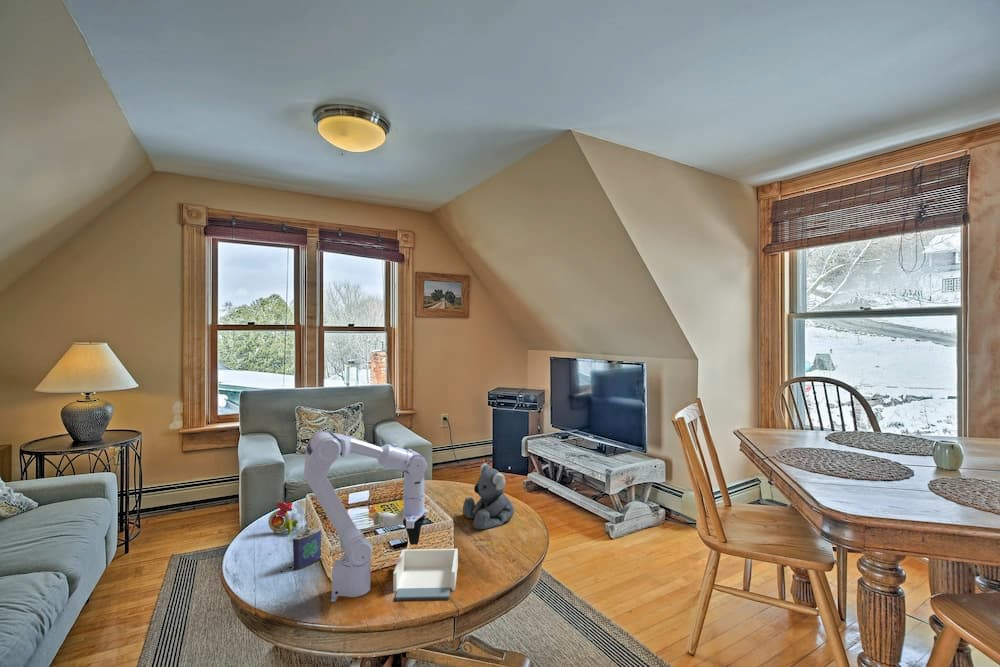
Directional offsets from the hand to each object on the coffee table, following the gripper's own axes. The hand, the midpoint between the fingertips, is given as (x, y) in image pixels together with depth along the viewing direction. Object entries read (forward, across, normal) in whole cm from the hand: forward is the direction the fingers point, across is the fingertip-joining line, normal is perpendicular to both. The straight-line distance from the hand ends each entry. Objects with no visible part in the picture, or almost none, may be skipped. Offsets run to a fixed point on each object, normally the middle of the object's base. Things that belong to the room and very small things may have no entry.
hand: (414, 543), depth 132 cm
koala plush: (+10, +40, -22) cm, 47 cm away
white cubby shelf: (+9, -3, -4) cm, 11 cm away
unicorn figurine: (+10, +24, +8) cm, 27 cm away
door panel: (+8, -9, -4) cm, 13 cm away
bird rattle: (+10, +31, +50) cm, 60 cm away
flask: (+10, +9, +33) cm, 36 cm away
